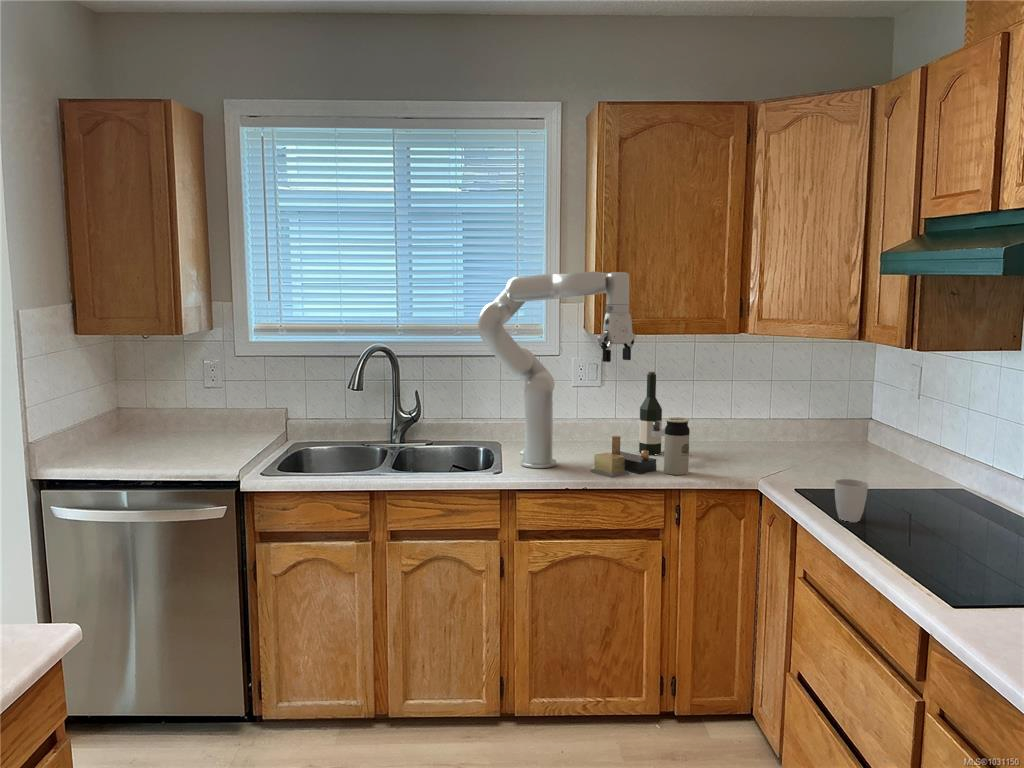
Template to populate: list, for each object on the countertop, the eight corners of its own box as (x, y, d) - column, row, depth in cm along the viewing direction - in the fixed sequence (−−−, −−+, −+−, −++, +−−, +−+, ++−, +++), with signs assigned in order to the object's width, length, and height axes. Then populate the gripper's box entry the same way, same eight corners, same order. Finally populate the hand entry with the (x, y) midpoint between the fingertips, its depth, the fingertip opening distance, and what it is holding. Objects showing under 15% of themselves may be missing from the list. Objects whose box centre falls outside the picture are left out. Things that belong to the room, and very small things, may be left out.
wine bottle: (635, 454, 294) (636, 372, 290) (642, 449, 301) (644, 370, 297) (657, 456, 290) (659, 373, 286) (664, 452, 297) (666, 371, 294)
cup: (857, 515, 217) (859, 478, 216) (871, 524, 209) (873, 486, 208) (827, 515, 217) (829, 479, 215) (840, 524, 209) (842, 486, 207)
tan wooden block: (594, 469, 266) (594, 454, 265) (606, 467, 270) (607, 452, 269) (611, 474, 260) (612, 458, 259) (624, 471, 264) (624, 456, 263)
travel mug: (658, 471, 267) (660, 418, 265) (678, 469, 270) (679, 416, 268) (673, 476, 260) (674, 421, 257) (693, 474, 263) (694, 420, 261)
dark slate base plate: (604, 465, 275) (605, 437, 274) (620, 462, 280) (621, 434, 279) (639, 474, 263) (640, 444, 261) (656, 470, 268) (656, 441, 266)
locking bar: (650, 436, 278) (650, 422, 278) (680, 430, 288) (680, 417, 288) (655, 437, 276) (656, 423, 276) (685, 431, 286) (685, 418, 286)
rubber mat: (590, 471, 266) (590, 469, 266) (606, 468, 271) (606, 466, 271) (612, 477, 259) (612, 475, 259) (628, 473, 264) (628, 471, 264)
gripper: (607, 310, 259) (606, 363, 261) (643, 309, 270) (642, 360, 272) (591, 309, 265) (590, 361, 267) (626, 308, 275) (626, 358, 278)
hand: (616, 360), depth 269 cm, fingers open, 9 cm apart
